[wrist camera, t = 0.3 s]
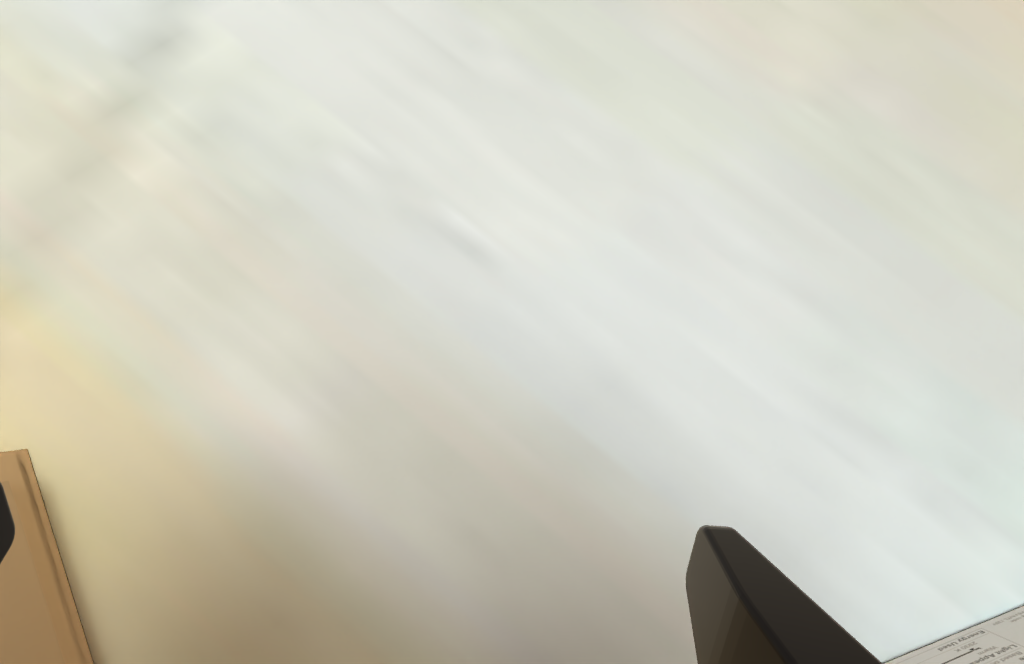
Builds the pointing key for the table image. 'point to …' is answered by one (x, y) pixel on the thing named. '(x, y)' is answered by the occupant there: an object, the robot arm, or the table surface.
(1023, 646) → the light bulb box
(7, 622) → the carton
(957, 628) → the table surface
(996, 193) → the table surface
